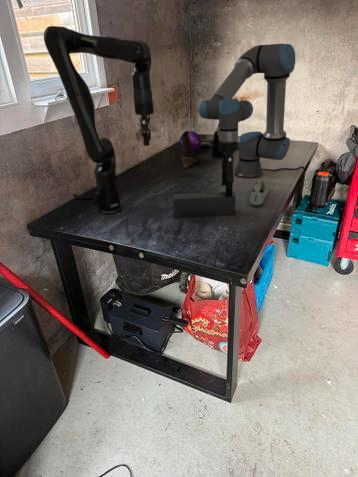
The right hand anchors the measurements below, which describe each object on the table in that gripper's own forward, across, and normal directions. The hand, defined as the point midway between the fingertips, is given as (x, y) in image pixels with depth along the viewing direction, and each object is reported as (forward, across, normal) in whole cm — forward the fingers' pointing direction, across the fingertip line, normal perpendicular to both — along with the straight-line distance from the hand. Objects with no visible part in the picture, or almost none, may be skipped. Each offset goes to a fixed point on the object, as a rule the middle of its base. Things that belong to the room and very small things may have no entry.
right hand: (226, 190), depth 142 cm
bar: (+11, 0, -10) cm, 14 cm away
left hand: (-21, -3, -33) cm, 39 cm away
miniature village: (+9, -108, +35) cm, 114 cm away
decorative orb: (+10, -99, -13) cm, 101 cm away
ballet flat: (+10, -16, +18) cm, 26 cm away
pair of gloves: (+9, -123, +2) cm, 123 cm away
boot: (+10, -77, -14) cm, 79 cm away
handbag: (+10, -91, +9) cm, 92 cm away
